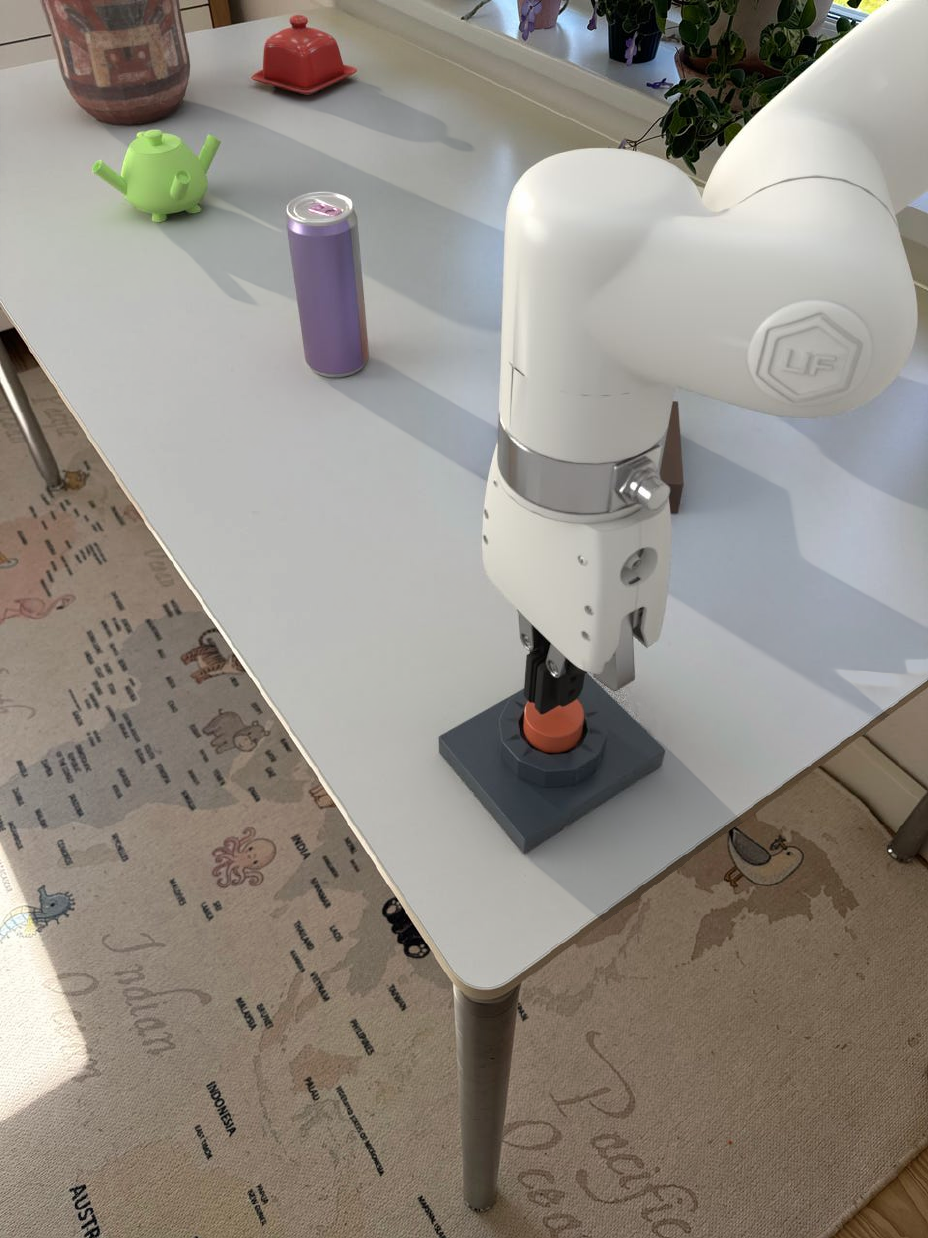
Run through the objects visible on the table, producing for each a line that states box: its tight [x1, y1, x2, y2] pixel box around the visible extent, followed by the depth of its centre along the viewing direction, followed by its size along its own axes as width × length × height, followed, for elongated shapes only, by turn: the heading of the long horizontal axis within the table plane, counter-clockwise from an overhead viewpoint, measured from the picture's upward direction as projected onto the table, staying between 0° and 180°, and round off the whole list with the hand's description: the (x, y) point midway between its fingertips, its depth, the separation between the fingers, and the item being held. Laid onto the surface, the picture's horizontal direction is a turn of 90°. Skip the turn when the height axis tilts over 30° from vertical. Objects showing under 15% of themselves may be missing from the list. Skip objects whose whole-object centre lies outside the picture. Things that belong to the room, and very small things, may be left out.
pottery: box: [39, 0, 191, 126], centre depth 130 cm, size 18×18×18 cm
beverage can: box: [285, 191, 370, 379], centre depth 89 cm, size 6×6×15 cm
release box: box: [437, 673, 666, 855], centre depth 63 cm, size 11×9×4 cm
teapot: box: [91, 129, 222, 223], centre depth 113 cm, size 11×12×8 cm
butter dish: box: [250, 14, 358, 96], centre depth 139 cm, size 12×12×8 cm
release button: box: [523, 699, 584, 753], centre depth 61 cm, size 4×4×2 cm
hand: (553, 695), depth 59 cm, fingers closed
